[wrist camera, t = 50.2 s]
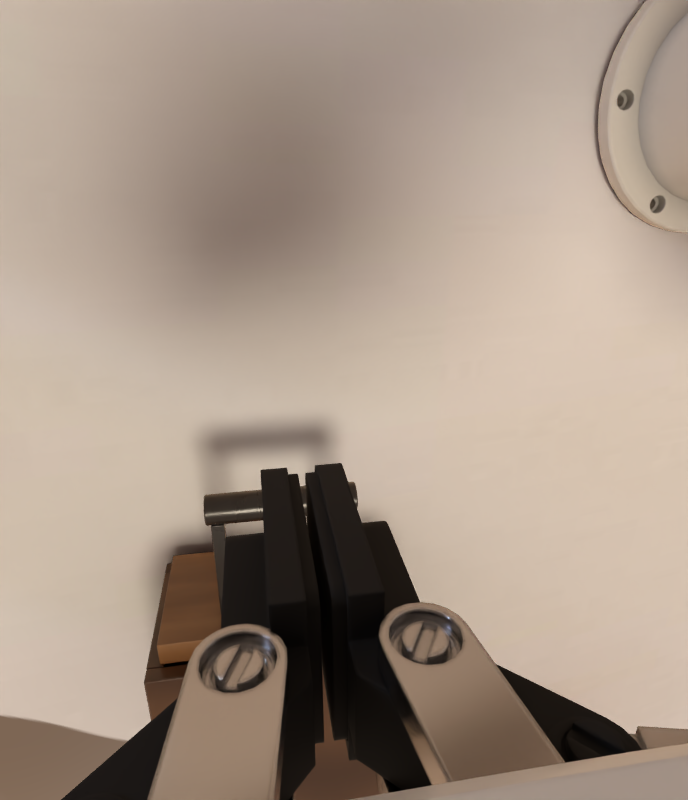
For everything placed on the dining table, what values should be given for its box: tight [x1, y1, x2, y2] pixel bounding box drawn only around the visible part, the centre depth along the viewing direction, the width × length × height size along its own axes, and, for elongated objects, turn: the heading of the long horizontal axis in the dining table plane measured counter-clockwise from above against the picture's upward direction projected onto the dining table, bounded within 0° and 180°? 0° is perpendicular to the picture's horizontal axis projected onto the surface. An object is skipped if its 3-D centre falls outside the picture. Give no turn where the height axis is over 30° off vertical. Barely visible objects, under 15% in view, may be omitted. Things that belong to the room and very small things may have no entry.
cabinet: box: [144, 564, 379, 800], centre depth 33 cm, size 15×14×9 cm
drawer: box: [157, 482, 358, 665], centre depth 32 cm, size 20×12×7 cm, turn 1°
